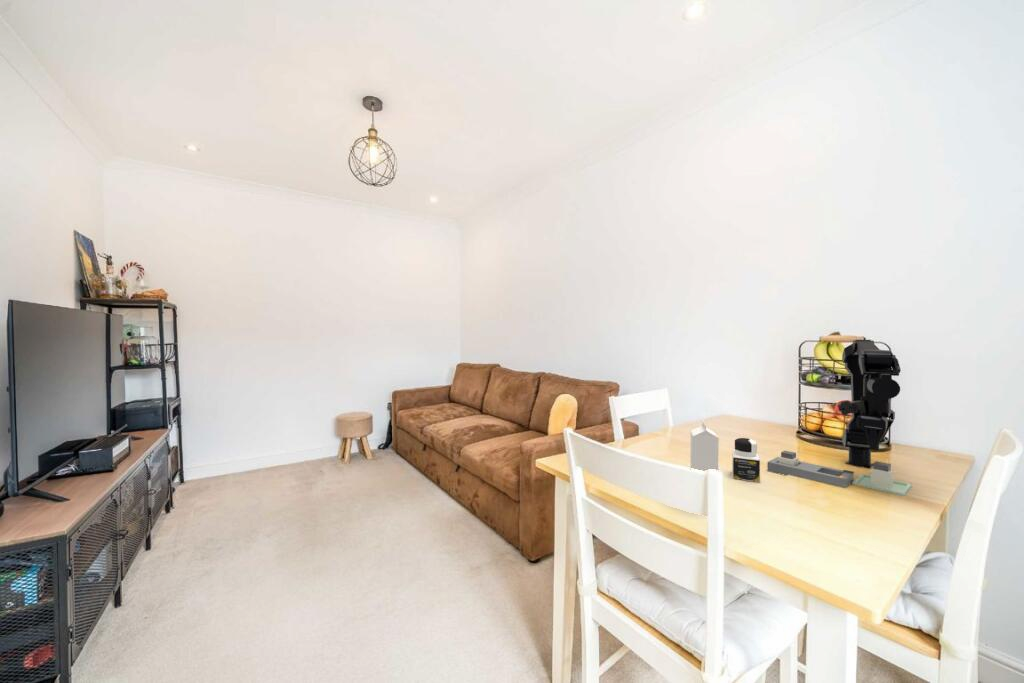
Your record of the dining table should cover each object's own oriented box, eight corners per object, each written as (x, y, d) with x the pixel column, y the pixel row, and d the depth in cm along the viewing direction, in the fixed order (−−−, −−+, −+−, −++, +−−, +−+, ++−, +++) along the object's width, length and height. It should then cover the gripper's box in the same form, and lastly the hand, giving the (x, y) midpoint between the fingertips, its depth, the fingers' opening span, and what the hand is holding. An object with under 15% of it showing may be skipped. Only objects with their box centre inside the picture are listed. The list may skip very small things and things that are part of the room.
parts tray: (862, 477, 123) (862, 473, 123) (911, 488, 114) (911, 484, 114) (852, 485, 117) (852, 481, 116) (904, 497, 108) (904, 493, 108)
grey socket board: (778, 465, 135) (778, 455, 135) (854, 482, 119) (854, 471, 119) (767, 470, 130) (767, 460, 130) (845, 489, 113) (845, 478, 113)
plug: (874, 481, 118) (874, 460, 118) (893, 485, 115) (893, 464, 115) (870, 484, 116) (870, 463, 116) (890, 489, 112) (890, 467, 112)
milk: (693, 507, 103) (692, 424, 102) (690, 498, 109) (689, 419, 108) (719, 510, 101) (718, 425, 100) (714, 501, 107) (714, 420, 106)
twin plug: (783, 468, 132) (783, 449, 132) (798, 472, 128) (798, 452, 128) (778, 471, 129) (778, 452, 129) (793, 475, 126) (793, 455, 126)
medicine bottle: (733, 479, 123) (733, 440, 123) (732, 471, 129) (732, 435, 129) (759, 482, 119) (760, 443, 119) (757, 475, 126) (757, 438, 126)
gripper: (847, 387, 127) (847, 434, 128) (833, 394, 115) (833, 446, 116) (895, 391, 119) (894, 442, 119) (885, 398, 107) (885, 455, 107)
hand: (875, 446), depth 116 cm, fingers open, 9 cm apart
